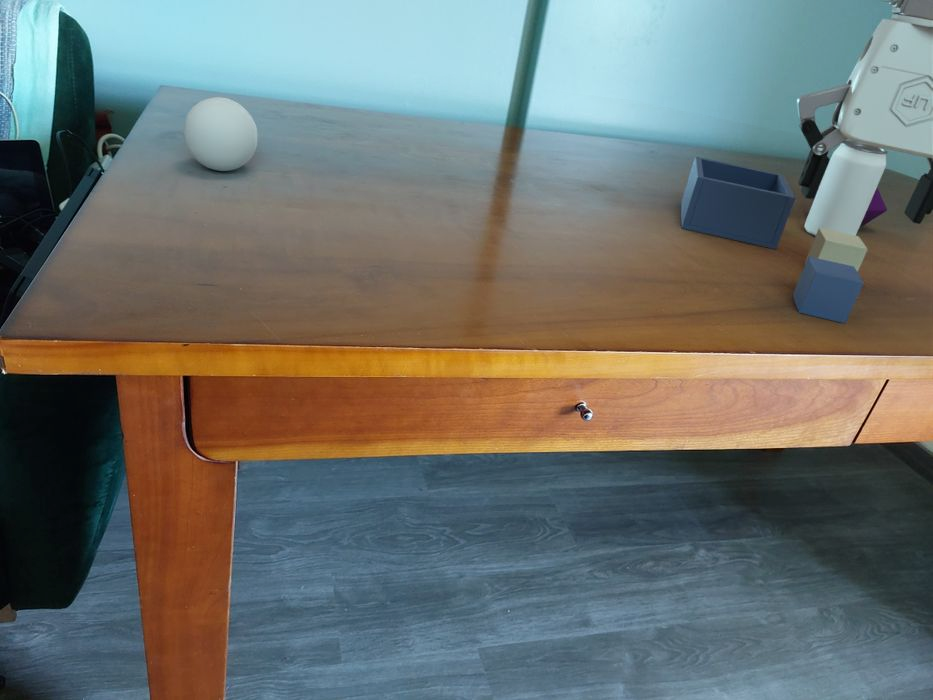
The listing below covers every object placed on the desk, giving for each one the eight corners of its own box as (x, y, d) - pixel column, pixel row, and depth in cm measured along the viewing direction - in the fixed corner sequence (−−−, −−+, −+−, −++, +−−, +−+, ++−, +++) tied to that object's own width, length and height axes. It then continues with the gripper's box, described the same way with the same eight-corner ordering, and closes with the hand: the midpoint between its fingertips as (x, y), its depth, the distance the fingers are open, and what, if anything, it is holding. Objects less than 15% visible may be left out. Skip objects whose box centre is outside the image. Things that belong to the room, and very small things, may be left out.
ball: (268, 167, 87) (269, 98, 84) (240, 185, 80) (240, 111, 77) (204, 154, 88) (202, 86, 84) (171, 171, 81) (167, 97, 77)
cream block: (843, 272, 86) (859, 236, 84) (851, 286, 82) (868, 249, 80) (804, 263, 87) (818, 227, 84) (810, 276, 83) (825, 239, 80)
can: (834, 246, 94) (873, 154, 89) (793, 227, 99) (827, 139, 93) (862, 242, 98) (901, 153, 92) (820, 224, 102) (855, 139, 97)
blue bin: (765, 222, 100) (783, 174, 96) (776, 249, 90) (795, 197, 86) (680, 203, 101) (695, 156, 98) (681, 228, 91) (697, 176, 88)
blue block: (836, 305, 76) (854, 266, 74) (845, 323, 72) (864, 282, 70) (792, 295, 77) (808, 256, 74) (798, 312, 73) (815, 271, 71)
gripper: (848, -9, 59) (770, 195, 67) (1078, 34, 56) (968, 241, 65) (831, -10, 65) (761, 177, 73) (1036, 29, 63) (941, 217, 71)
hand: (858, 207), depth 69 cm, fingers open, 9 cm apart
